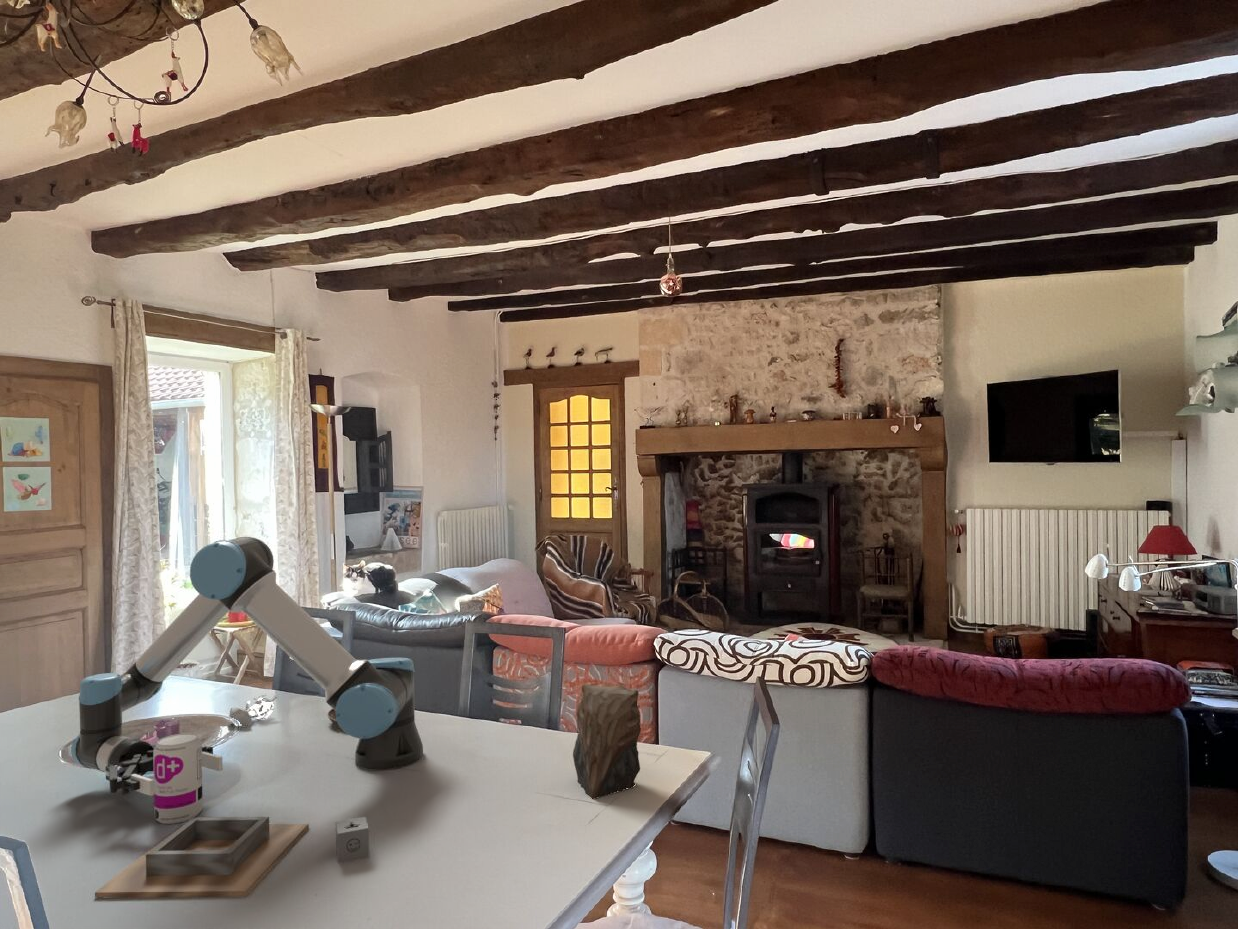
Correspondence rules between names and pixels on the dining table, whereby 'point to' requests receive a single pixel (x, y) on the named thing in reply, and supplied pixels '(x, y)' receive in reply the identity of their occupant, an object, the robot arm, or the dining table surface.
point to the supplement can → (177, 778)
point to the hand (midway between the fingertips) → (187, 775)
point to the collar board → (207, 859)
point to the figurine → (253, 710)
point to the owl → (607, 739)
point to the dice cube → (352, 839)
